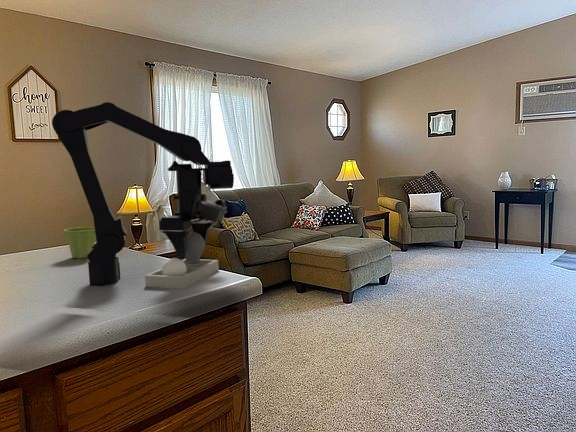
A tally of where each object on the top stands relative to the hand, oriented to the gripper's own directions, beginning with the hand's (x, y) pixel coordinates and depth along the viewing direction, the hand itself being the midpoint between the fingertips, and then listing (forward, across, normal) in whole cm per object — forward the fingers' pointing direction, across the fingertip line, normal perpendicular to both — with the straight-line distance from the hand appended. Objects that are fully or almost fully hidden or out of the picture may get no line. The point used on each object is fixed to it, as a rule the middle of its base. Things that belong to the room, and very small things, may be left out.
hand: (192, 254), depth 106 cm
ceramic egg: (+4, -8, 0) cm, 9 cm away
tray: (+6, -4, 0) cm, 7 cm away
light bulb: (+5, 0, 0) cm, 5 cm away
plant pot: (+6, +15, +46) cm, 49 cm away
